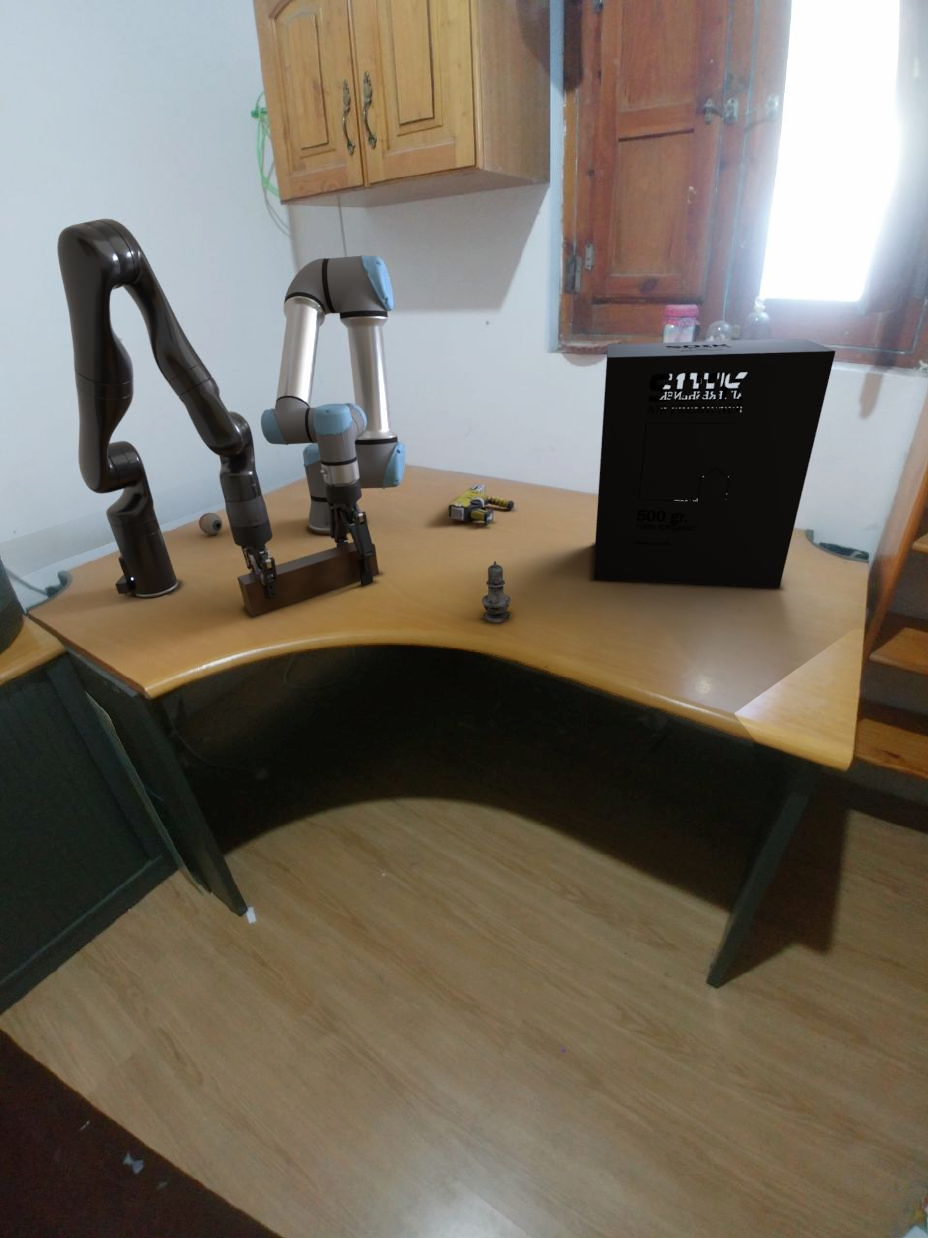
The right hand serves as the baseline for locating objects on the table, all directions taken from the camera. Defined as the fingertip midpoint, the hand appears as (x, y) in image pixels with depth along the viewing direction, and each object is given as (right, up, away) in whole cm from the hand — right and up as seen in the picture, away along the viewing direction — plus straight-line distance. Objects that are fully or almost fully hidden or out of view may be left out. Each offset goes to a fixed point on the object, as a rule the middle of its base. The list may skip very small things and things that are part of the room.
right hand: (356, 575), depth 140 cm
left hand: (-17, -5, -12) cm, 21 cm away
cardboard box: (+74, +2, -3) cm, 74 cm away
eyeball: (-45, +14, +29) cm, 55 cm away
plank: (-8, -4, -5) cm, 11 cm away
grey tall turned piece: (+31, -10, -19) cm, 38 cm away
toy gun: (+31, +21, +33) cm, 50 cm away
